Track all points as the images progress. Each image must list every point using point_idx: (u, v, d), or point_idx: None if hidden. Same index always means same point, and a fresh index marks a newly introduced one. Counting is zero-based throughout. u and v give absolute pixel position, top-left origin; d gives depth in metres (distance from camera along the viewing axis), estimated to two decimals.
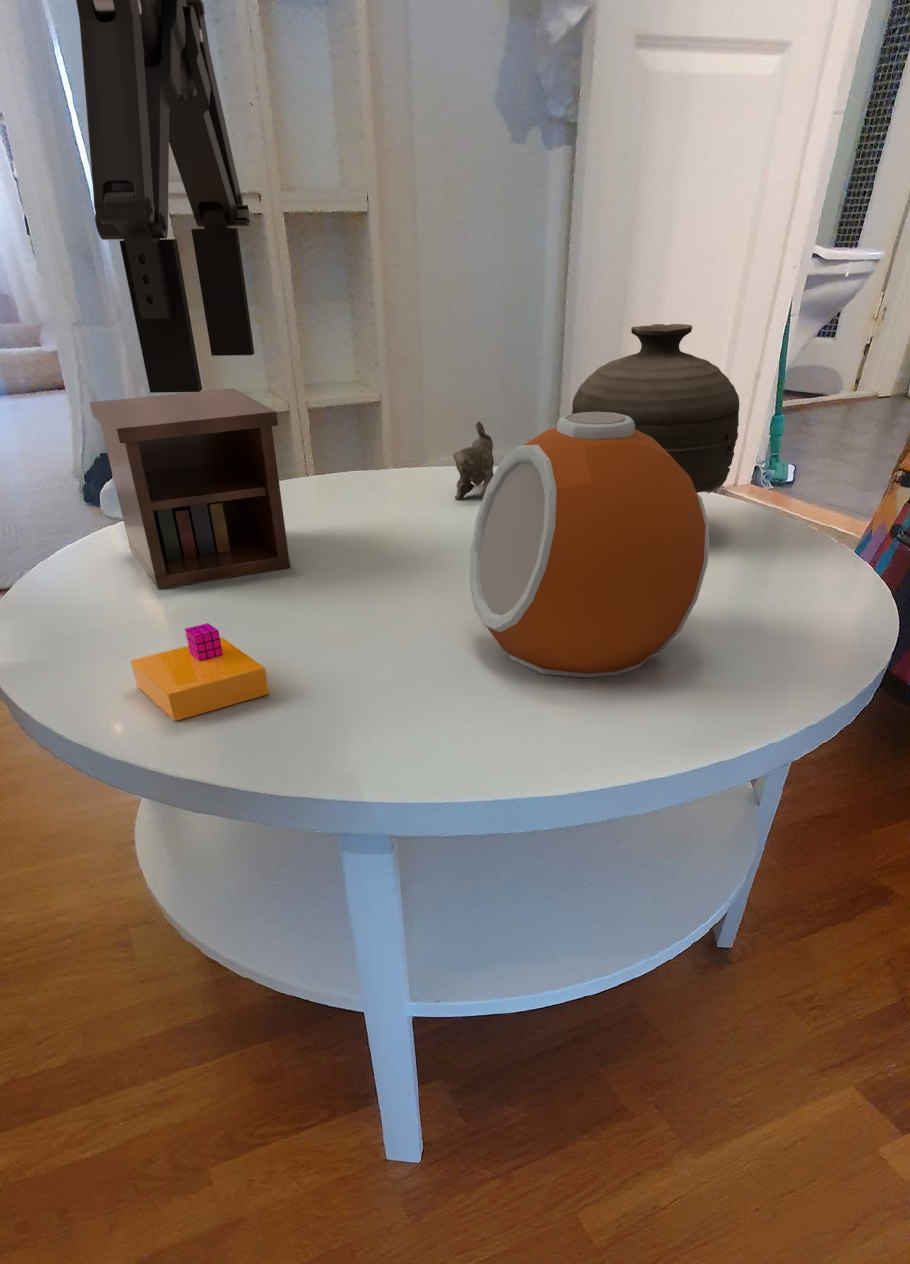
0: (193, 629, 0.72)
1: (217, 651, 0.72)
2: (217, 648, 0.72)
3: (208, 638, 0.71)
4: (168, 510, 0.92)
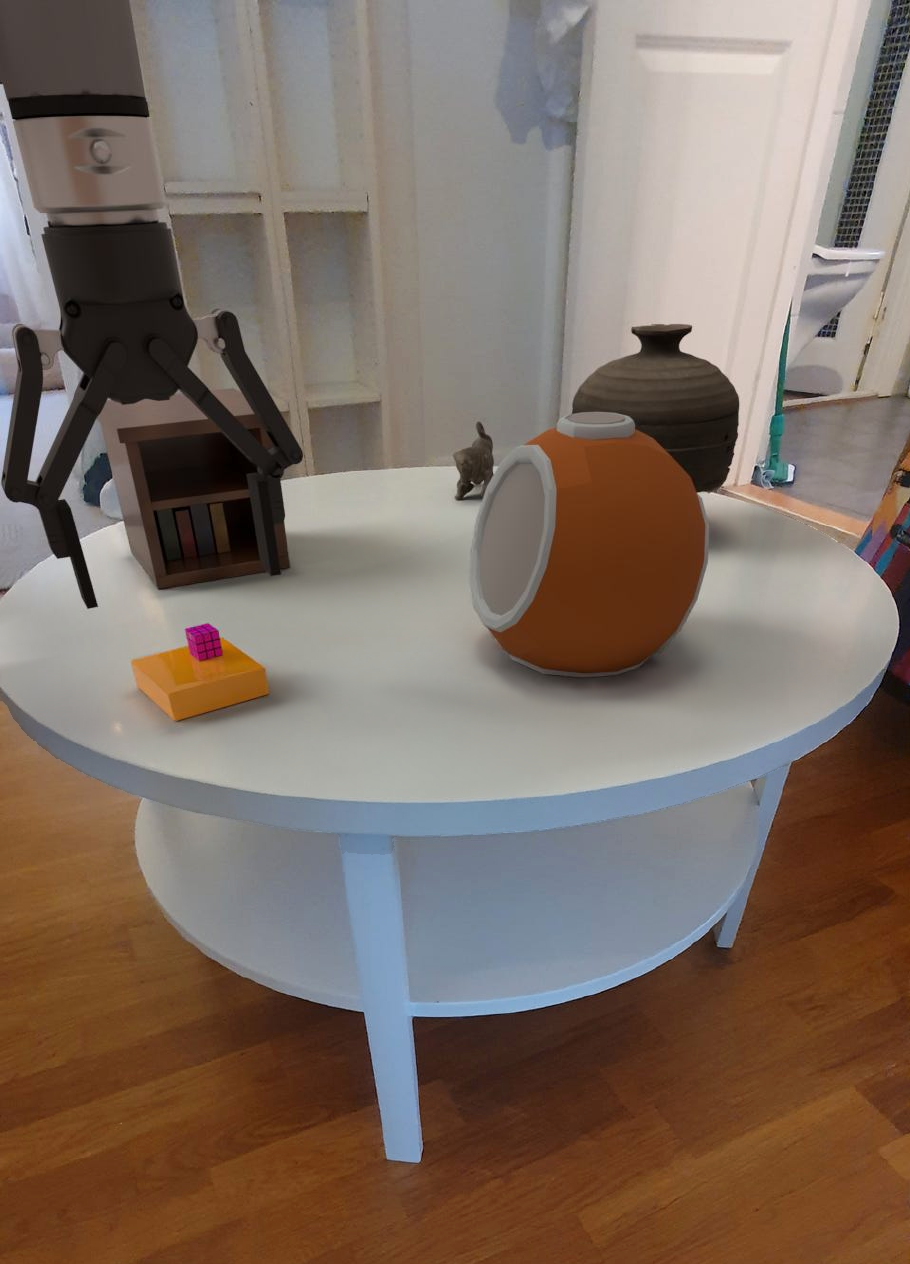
0: (193, 629, 0.72)
1: (217, 651, 0.72)
2: (217, 648, 0.72)
3: (208, 638, 0.71)
4: (168, 510, 0.92)
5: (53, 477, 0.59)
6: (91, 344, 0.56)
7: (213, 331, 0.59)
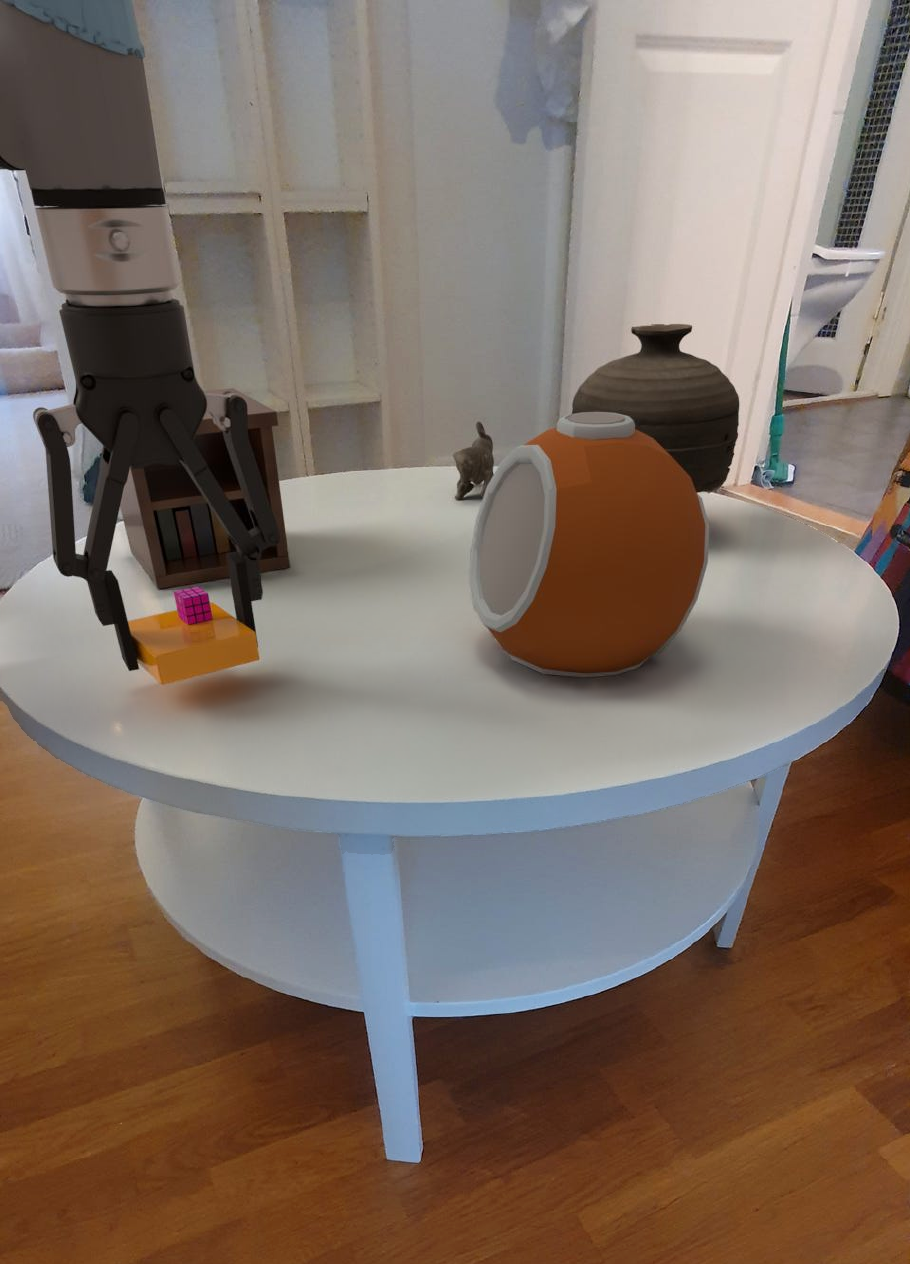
0: (182, 592, 0.70)
1: (206, 615, 0.71)
2: (206, 612, 0.70)
3: (197, 601, 0.70)
4: (168, 510, 0.92)
5: (97, 552, 0.63)
6: (105, 413, 0.59)
7: (222, 409, 0.62)
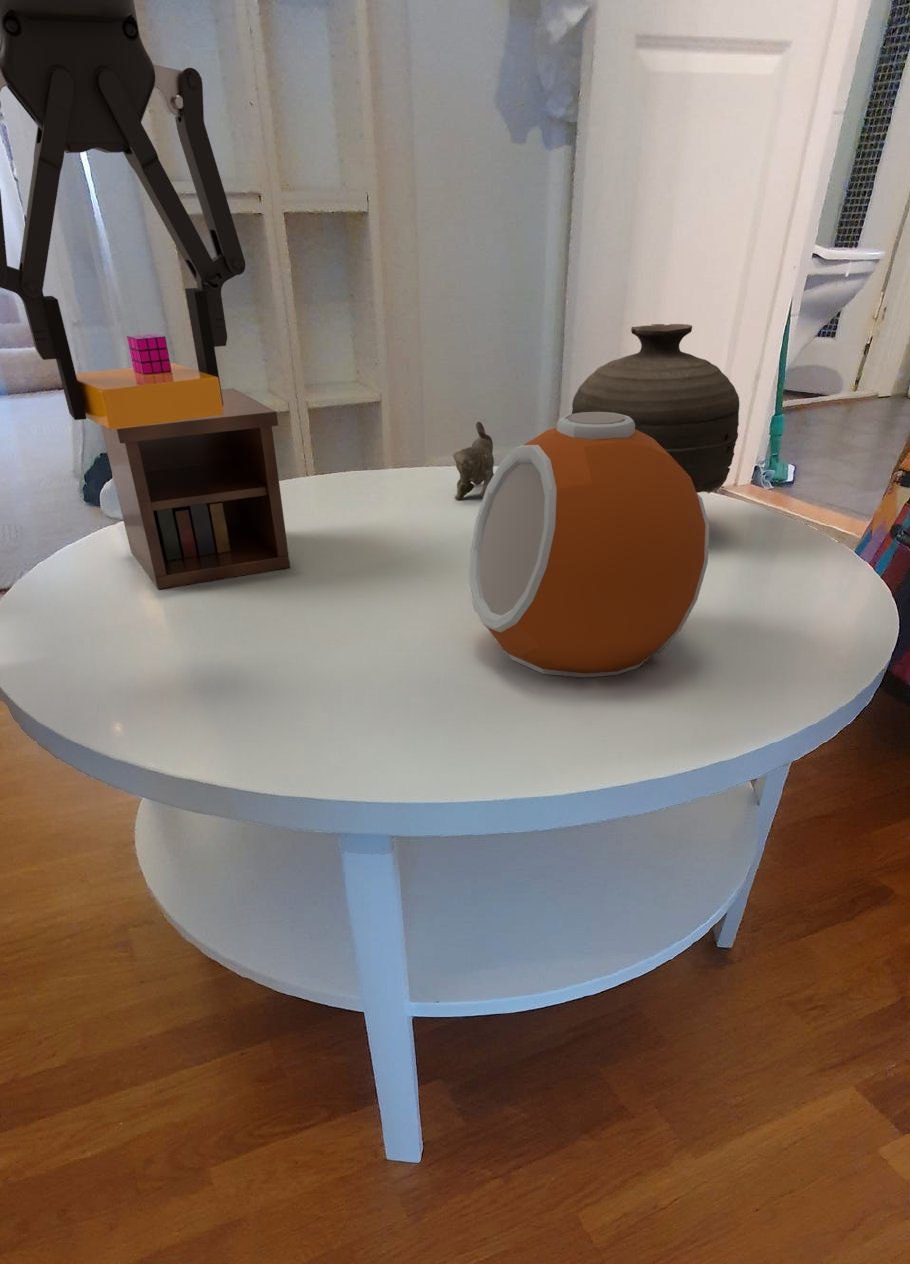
0: (136, 336, 0.62)
1: (164, 365, 0.62)
2: (164, 361, 0.62)
3: (153, 345, 0.61)
4: (168, 510, 0.92)
5: (32, 258, 0.55)
6: (34, 71, 0.51)
7: (173, 87, 0.54)
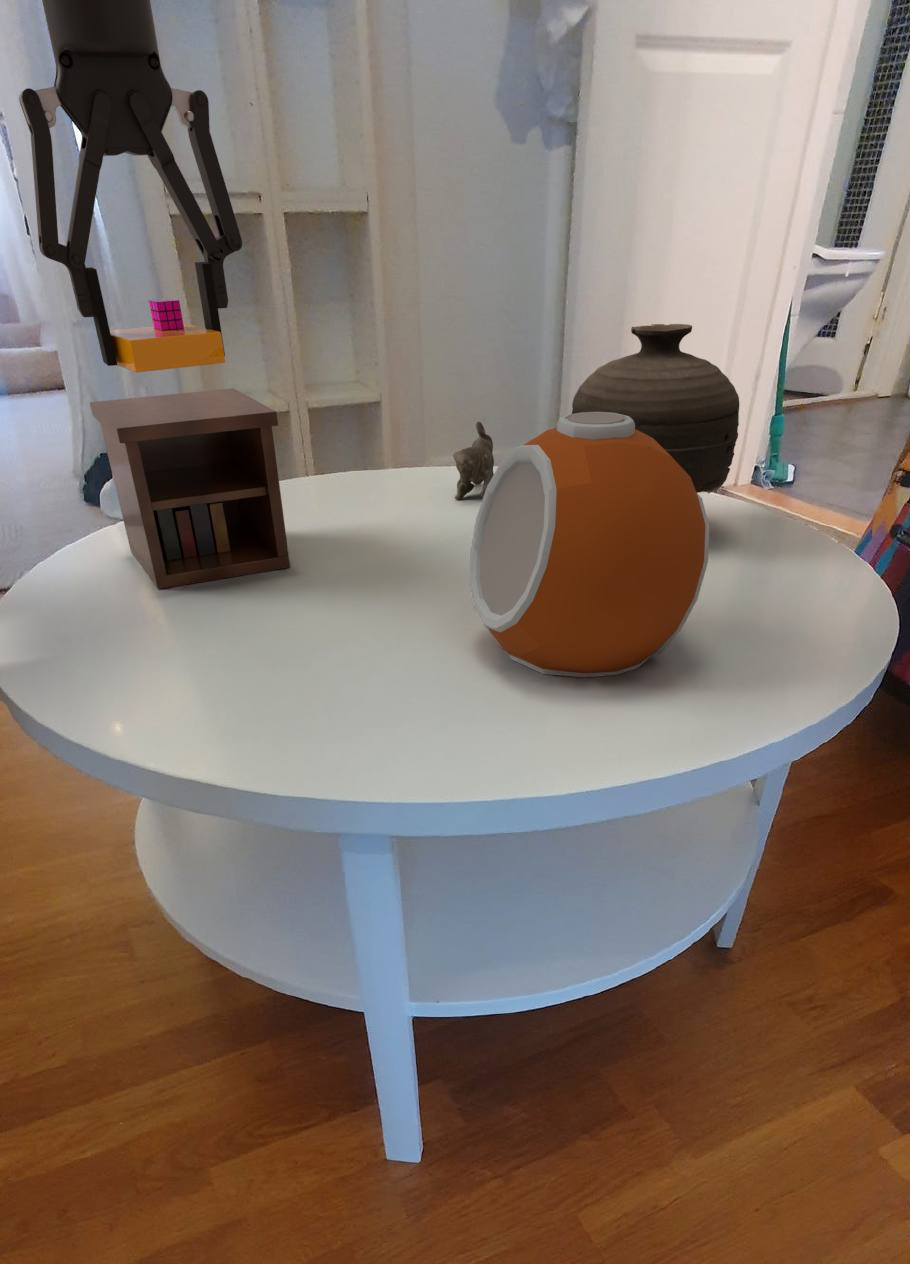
0: (156, 300, 0.78)
1: (178, 323, 0.79)
2: (178, 320, 0.79)
3: (169, 307, 0.78)
4: (168, 510, 0.92)
5: (77, 237, 0.71)
6: (81, 94, 0.67)
7: (186, 105, 0.70)
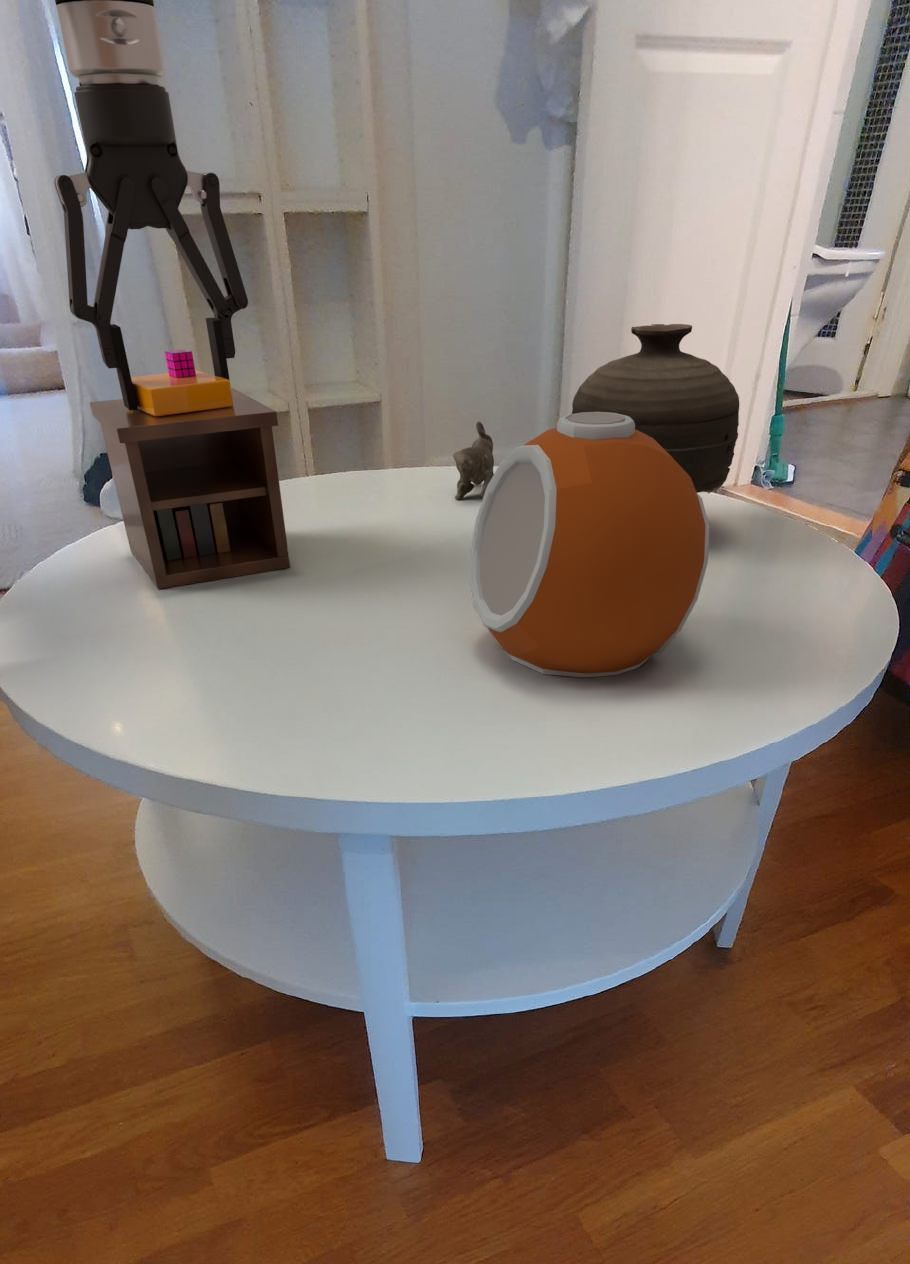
0: (171, 351, 0.88)
1: (191, 371, 0.88)
2: (191, 368, 0.88)
3: (183, 357, 0.87)
4: (168, 510, 0.92)
5: (104, 299, 0.81)
6: (109, 179, 0.77)
7: (199, 185, 0.80)
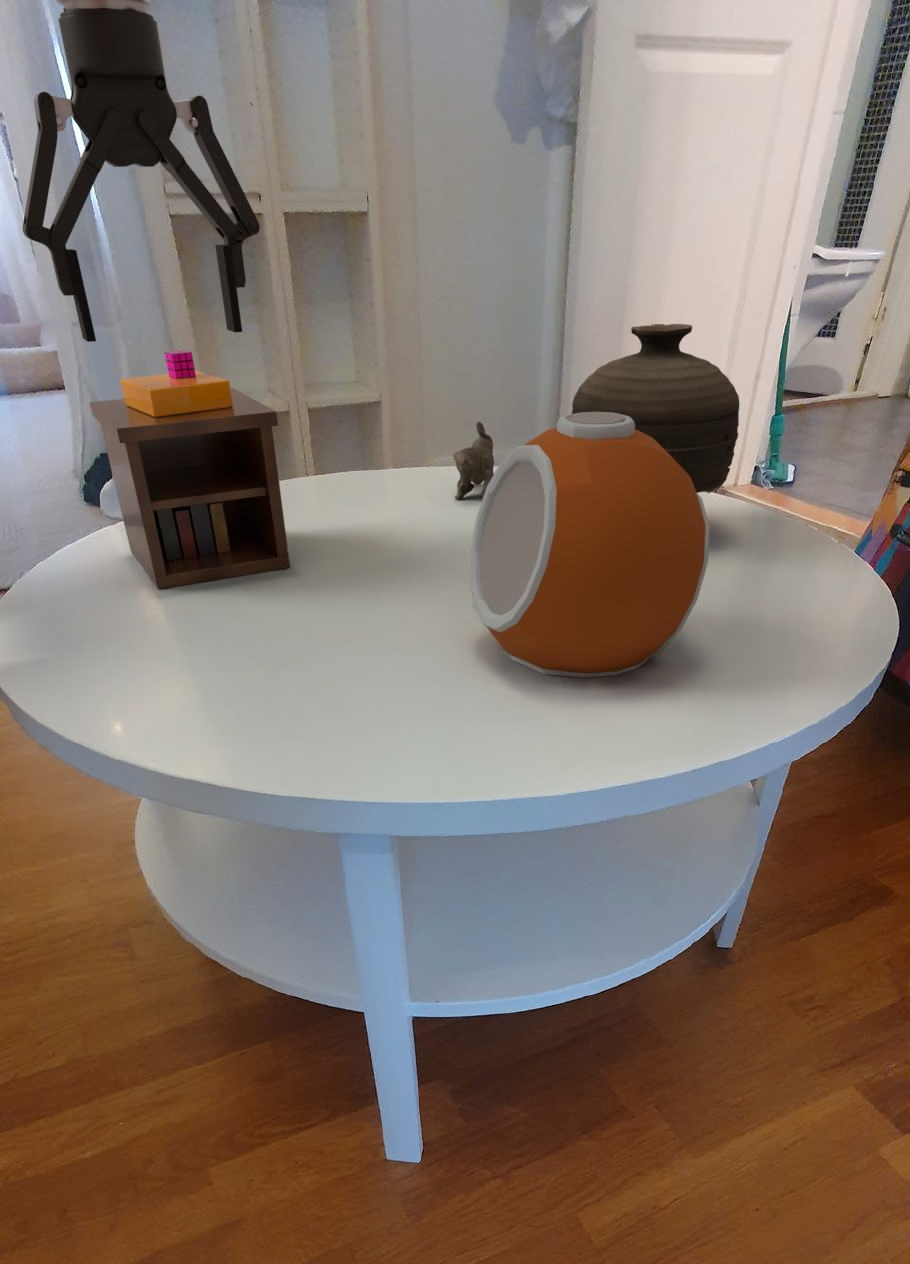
0: (171, 352, 0.88)
1: (191, 372, 0.88)
2: (190, 369, 0.88)
3: (183, 358, 0.88)
4: (168, 510, 0.92)
5: (63, 222, 0.77)
6: (94, 112, 0.74)
7: (188, 113, 0.77)
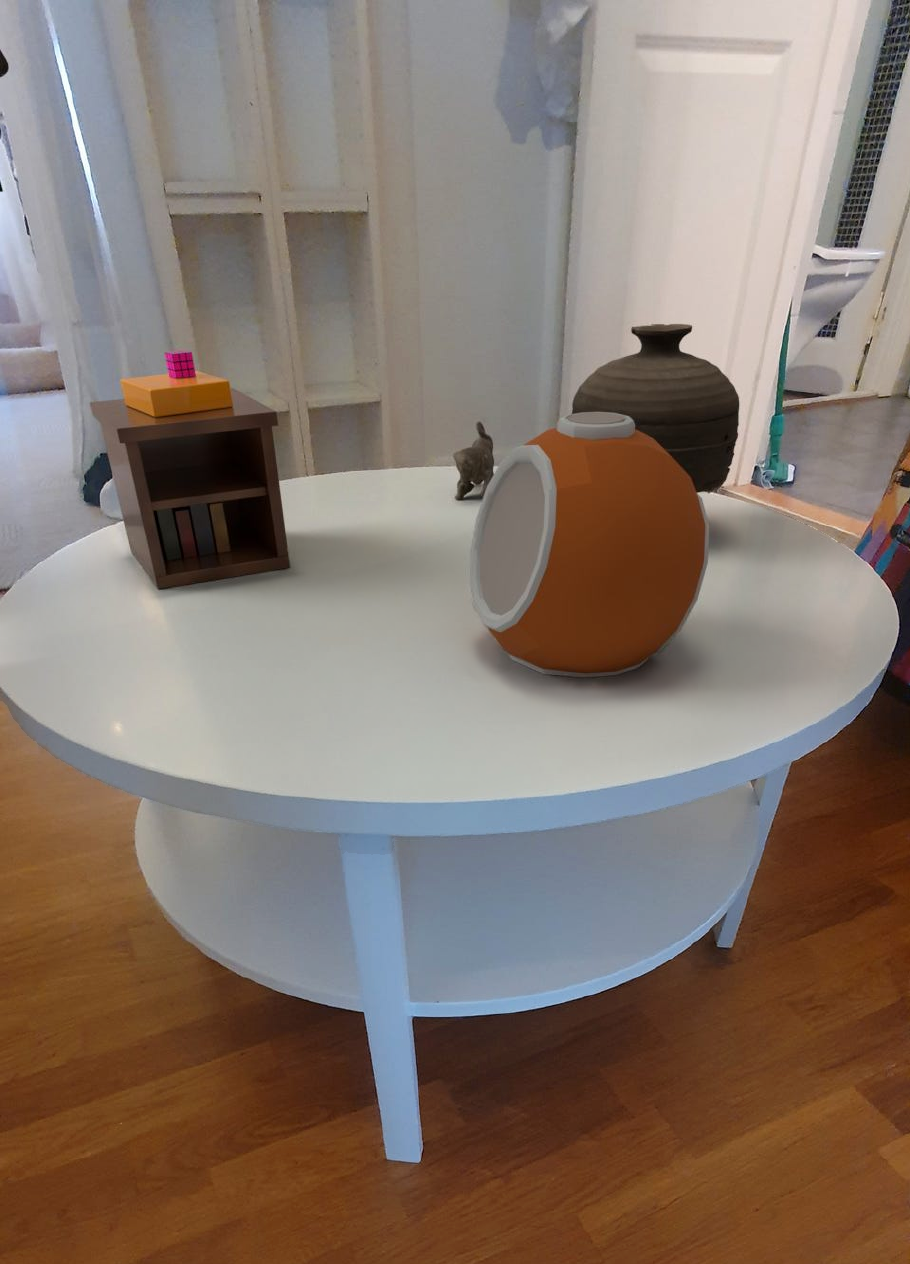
0: (171, 352, 0.88)
1: (191, 372, 0.88)
2: (190, 369, 0.88)
3: (183, 358, 0.88)
4: (168, 510, 0.92)
5: None
6: None
7: None
